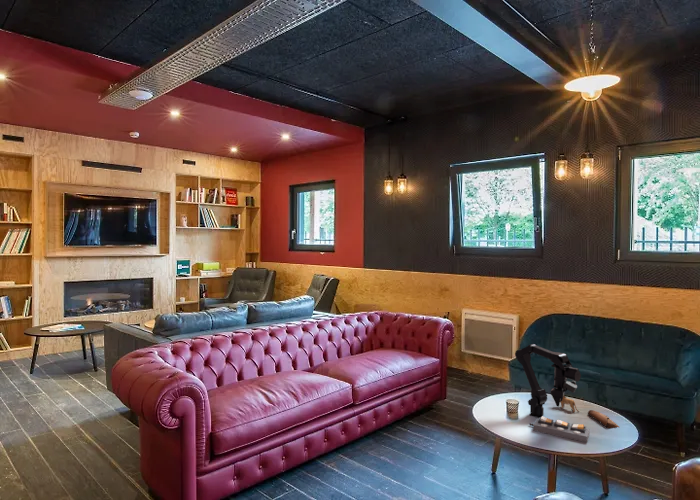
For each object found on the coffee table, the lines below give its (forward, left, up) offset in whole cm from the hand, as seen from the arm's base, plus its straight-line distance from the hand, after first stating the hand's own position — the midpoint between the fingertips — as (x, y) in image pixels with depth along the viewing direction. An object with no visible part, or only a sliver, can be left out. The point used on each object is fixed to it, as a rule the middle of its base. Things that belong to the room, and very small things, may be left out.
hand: (559, 403), depth 252 cm
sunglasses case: (+20, +17, -12) cm, 29 cm away
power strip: (+1, -12, -11) cm, 17 cm away
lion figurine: (0, +25, -12) cm, 28 cm away
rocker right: (+11, -10, -8) cm, 16 cm away
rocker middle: (+3, -10, -8) cm, 13 cm away
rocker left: (-5, -10, -8) cm, 13 cm away
